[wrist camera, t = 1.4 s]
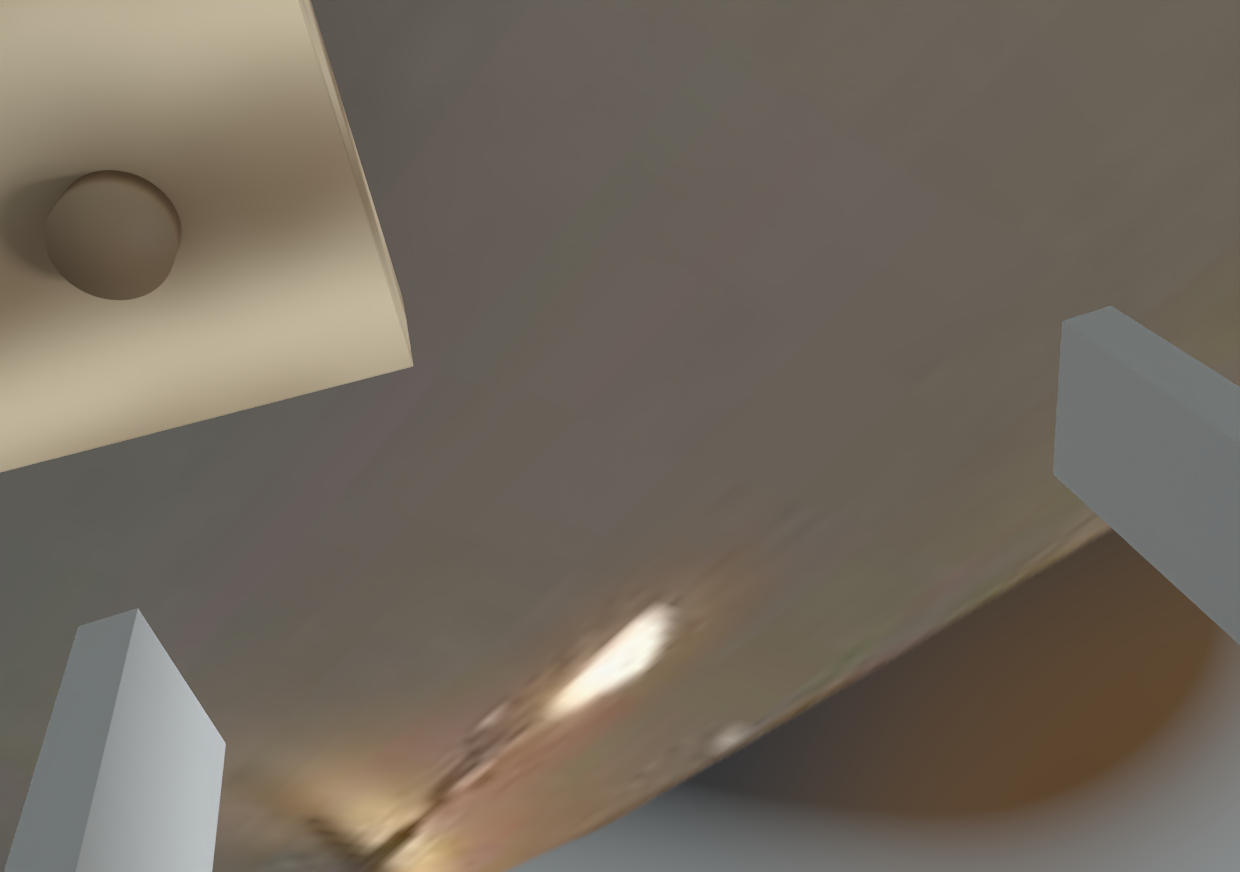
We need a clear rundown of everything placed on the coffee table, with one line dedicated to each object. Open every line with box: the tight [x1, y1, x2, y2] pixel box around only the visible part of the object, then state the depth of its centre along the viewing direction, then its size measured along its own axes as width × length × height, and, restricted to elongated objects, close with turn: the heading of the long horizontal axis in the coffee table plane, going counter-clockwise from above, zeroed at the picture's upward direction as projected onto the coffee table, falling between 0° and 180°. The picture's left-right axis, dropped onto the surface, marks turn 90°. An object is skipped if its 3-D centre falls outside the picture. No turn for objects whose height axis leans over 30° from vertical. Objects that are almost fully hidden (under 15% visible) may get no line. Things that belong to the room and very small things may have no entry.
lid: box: [0, 0, 413, 472], centre depth 23 cm, size 10×10×5 cm
